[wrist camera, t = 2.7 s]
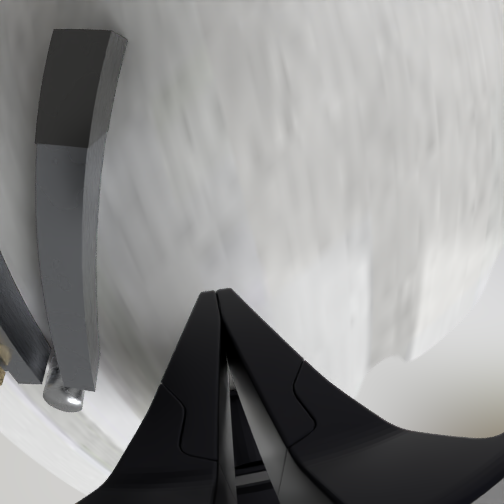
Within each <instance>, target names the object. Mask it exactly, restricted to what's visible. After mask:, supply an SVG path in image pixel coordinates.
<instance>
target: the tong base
mask: <svg viewBox="0 0 504 504" xmlns="http://www.w3.org/2000/svg"><path fill="white" fill-rule="evenodd" d="M50 351H51V347H50V346H49V344H48V343H47V341H46V339H45V338H44V336H43V334H42V333H41V331H40V329H39V328H38V326H37V324H36V323H35V321H34V319H33V317H32V315H31V314H30V312H29V310H28V308H27V306H26V304H25V303H24V301H23V299H22V297H21V295H20V293H19V291H18V289H17V287H16V285H15V283H14V281H13V279H12V277H11V274H10V272H9V270H8V268H7V266H6V263H5V261H4V259H3V257H2V254H1V252H0V366H1V367H2V369H3V370H4V371H9V372H10V374H11V375H12V376H13V377H14V379H15V380H16V381H17V382H18V383H19V384H42V382H43V378H44V374H45V370H46V366H47V362H48V358H49V355H50Z"/></svg>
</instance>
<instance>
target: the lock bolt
mask: <svg viewBox="0 0 504 504" xmlns="http://www.w3.org/2000/svg"><path fill="white" fill-rule="evenodd" d="M4 376H5V371H4V370H3V369H2V367H1V366H0V385H2V382H3V379H4Z"/></svg>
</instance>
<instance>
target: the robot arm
mask: <svg viewBox="0 0 504 504" xmlns="http://www.w3.org/2000/svg"><path fill="white" fill-rule="evenodd" d="M226 356H227V357H226ZM227 361H228V364H227ZM228 365H229V369H230V372H231V375H232V378H233V381H234V384H235V387H236V391H230V392H229V374H228ZM76 504H504V433H502V434H500V435H497V436H494V437H489V438H467V437H456V436H446V435H438V434H430V433H423V432H416V431H410V430H406V429H402V428H400V427H397V426H395V425H393V424H391V423H389V422H387V421H385V420H384V419H382V418H381V417H379V416H378V415H376V414H375V413H373V412H372V411H370V410H369V409H367V408H366V407H364V406H363V405H361V404H360V403H358V402H357V401H356V400H354V399H353V398H351V397H350V396H348V395H347V394H345V393H344V392H343V391H341V390H340V389H339V388H337V387H336V386H335V385H333V384H332V383H331V382H329V381H328V380H327V379H326V378H325V377H323V376H322V375H321V374H320V373H319V372H318V371H316V370H315V369H314V368H313V367H312V366H311V365H310V364H309V363H308V362H307V361H306V360H304V359H303V358H302V357H301V356H300V355H299V354H298V353H297V352H296V351H295V350H294V349H293V348H292V347H291V346H290V345H289V344H288V343H287V342H286V341H285V340H283V339H282V338H281V337H280V336H279V335H278V334H277V333H276V332H275V331H274V330H273V329H272V328H271V327H270V326H269V325H268V324H267V323H266V322H265V321H264V320H263V319H262V318H261V317H260V316H259V315H258V314H257V313H256V312H255V311H254V310H253V309H252V308H250V307H249V306H248V305H247V304H246V303H245V302H244V301H243V300H242V299H241V298H240V297H239V296H238V295H237V294H236V293H235V292H234V291H233V290H232V289H231V288H226V289H219V290H217V291H216V292H215V291H214V290H212V291H205V292H201V293H200V295H199V297H198V299H197V301H196V303H195V306H194V308H193V310H192V312H191V315H190V317H189V319H188V321H187V323H186V326H185V328H184V330H183V332H182V335H181V337H180V339H179V342H178V344H177V346H176V348H175V351H174V353H173V355H172V358H171V360H170V362H169V364H168V367H167V369H166V371H165V374H164V376H163V378H162V381H161V384H160V385H159V387H158V390H157V392H156V394H155V397H154V399H153V401H152V403H151V405H150V407H149V410H148V412H147V414H146V415H145V417H144V419H143V421H142V423H141V425H140V426H139V428H138V430H137V432H136V433H135V435H134V437H133V438H132V440H131V442H130V443H129V445H128V447H127V449H126V450H125V452H124V454H123V455H122V457H121V459H120V460H119V462H118V464H117V465H116V467H115V469H114V470H113V472H112V473H111V475H110V476H109V477H108V479H107V480H106V481H105V482H104V483H103V484H102V485H101V486H100V487H99V488H98V489H96V490H95V491H93V492H92V493H90V494H89V495H88V496H86V497H85V498H83V499H82V500H80V501H79V502H77V503H76Z"/></svg>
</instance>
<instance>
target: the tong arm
mask: <svg viewBox="0 0 504 504" xmlns="http://www.w3.org/2000/svg"><path fill="white" fill-rule="evenodd" d="M127 42H128V40H127V39H125V38H124V37H122V36H120V35H118V34H117V33H115V32H113V31H108V30H87V29H54V31H53V34H52V38H51V42H50V47H49V51H48V55H47V60H46V65H45V70H44V75H43V81H42V87H41V93H40V100H39V108H38V116H37V126H36V137H35V143H36V144H37V156H36V226H37V241H38V253H39V263H40V272H41V280H42V287H43V294H44V301H45V307H46V312H47V318H48V323H49V328H50V333H51V337H52V342H53V346H54V350H55V354H56V355H55V356H53V357H52V359H51V363H50V367H49V371H48V375H47V379H46V383H45V388H44V392H43V398H44V400H45V401H46V402H47V403H48V404H49V405H51V406H52V407H54V408H56V409H59V410H62V411H66V412H78V411H80V410H81V409H82V405H83V397H84V390H87V391H94V392H95V388H96V380H97V372H98V365H99V359H100V348H99V335H98V319H97V294H96V246H97V222H98V206H99V193H100V182H101V172H102V164H103V156H104V148H105V141H106V134H107V132H108V129H109V123H110V117H111V111H112V106H113V101H114V96H115V91H116V86H117V82H118V77H119V73H120V69H121V65H122V61H123V57H124V53H125V49H126V45H127Z"/></svg>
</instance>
